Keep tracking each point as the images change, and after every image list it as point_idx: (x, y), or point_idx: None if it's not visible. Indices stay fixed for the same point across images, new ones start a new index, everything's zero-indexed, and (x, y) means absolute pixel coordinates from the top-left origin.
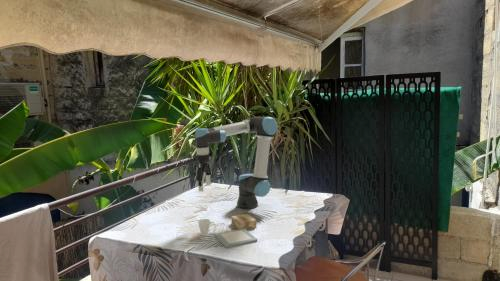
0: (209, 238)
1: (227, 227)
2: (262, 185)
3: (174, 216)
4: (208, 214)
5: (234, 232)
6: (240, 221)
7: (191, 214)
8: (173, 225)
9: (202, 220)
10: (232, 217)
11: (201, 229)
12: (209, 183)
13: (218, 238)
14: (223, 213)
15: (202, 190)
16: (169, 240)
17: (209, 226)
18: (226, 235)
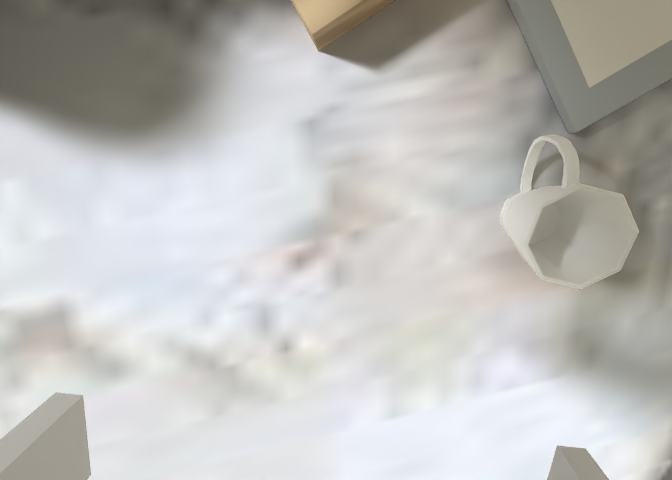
0: (605, 164)
1: (400, 70)
2: None
3: (213, 471)
4: (144, 274)
5: None
6: None
7: (162, 384)
8: (366, 439)
9: (535, 259)
10: (338, 16)
11: (580, 239)
12: (47, 442)
13: (647, 90)
14: (103, 165)
15: (598, 475)
16: (605, 400)
17: (555, 186)
18: (619, 30)
